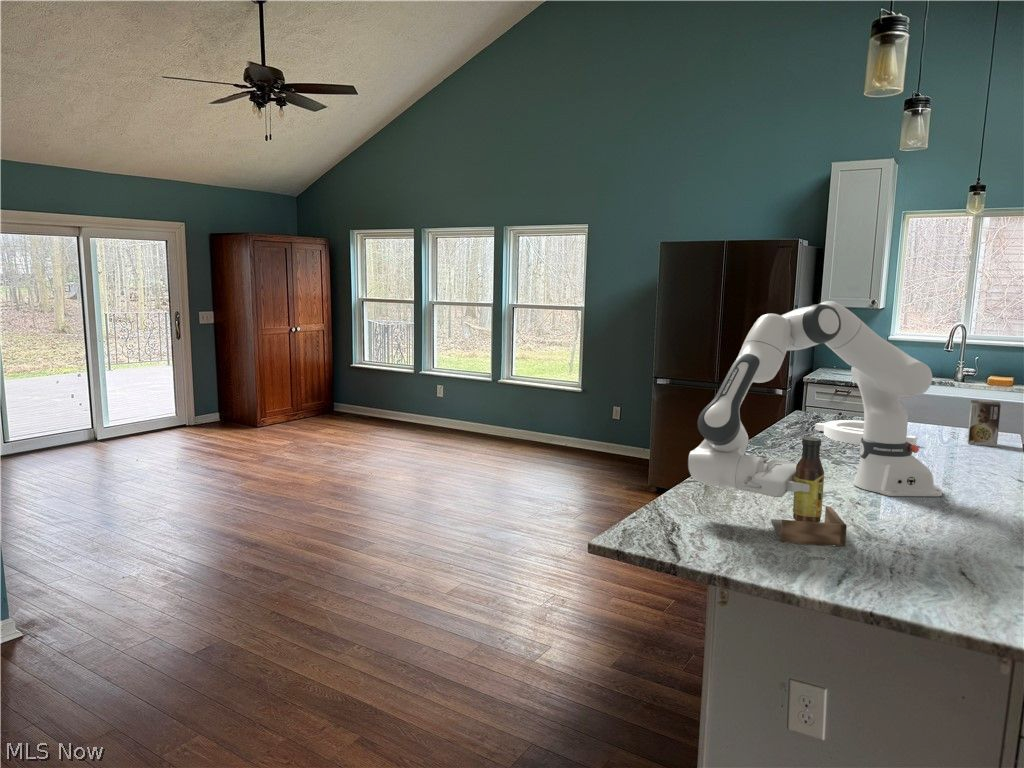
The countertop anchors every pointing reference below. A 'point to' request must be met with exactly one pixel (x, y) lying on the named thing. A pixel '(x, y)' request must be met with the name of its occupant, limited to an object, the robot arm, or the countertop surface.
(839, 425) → the ring with crossbar
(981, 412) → the food box
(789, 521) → the corner arena
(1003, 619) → the countertop surface
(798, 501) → the sauce bottle
